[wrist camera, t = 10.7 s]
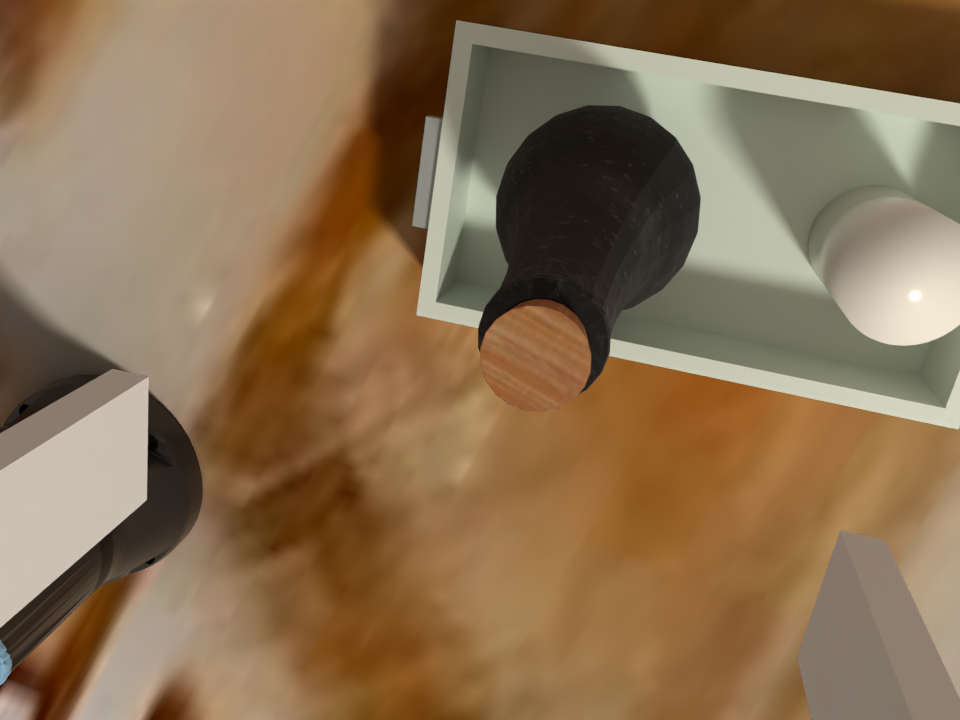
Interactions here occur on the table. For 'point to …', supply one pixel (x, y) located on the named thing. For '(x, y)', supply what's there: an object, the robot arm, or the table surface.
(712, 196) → the tote
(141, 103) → the table surface
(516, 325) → the bottle
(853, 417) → the table surface
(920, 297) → the cream capsule cylinder
